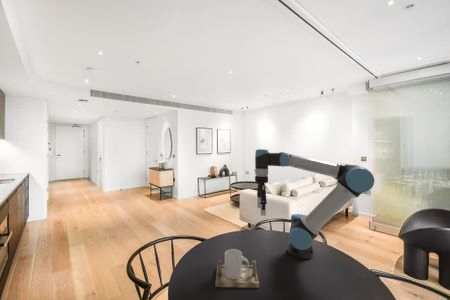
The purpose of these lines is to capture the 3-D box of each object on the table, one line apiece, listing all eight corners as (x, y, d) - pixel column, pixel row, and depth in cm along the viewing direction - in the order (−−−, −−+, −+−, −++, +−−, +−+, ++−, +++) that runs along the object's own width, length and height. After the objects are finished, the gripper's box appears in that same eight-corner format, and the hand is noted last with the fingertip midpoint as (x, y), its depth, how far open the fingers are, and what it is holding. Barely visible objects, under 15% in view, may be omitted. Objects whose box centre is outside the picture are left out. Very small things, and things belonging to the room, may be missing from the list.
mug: (248, 281, 97) (248, 259, 96) (223, 279, 98) (223, 257, 98) (248, 270, 105) (249, 250, 105) (225, 268, 107) (225, 248, 106)
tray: (255, 269, 108) (255, 254, 108) (258, 287, 94) (259, 270, 94) (217, 268, 109) (217, 253, 109) (215, 286, 95) (215, 269, 95)
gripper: (252, 172, 133) (252, 205, 133) (258, 178, 108) (257, 218, 108) (264, 172, 133) (264, 205, 133) (272, 179, 108) (272, 219, 108)
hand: (261, 211), depth 121 cm, fingers open, 13 cm apart
